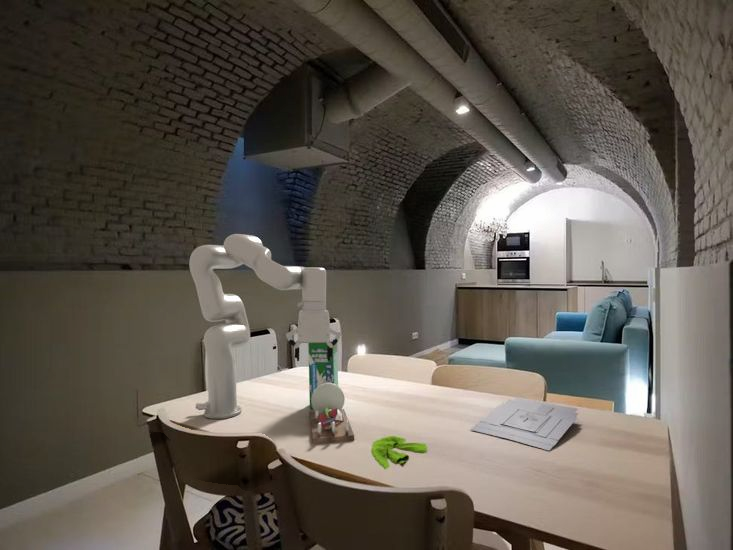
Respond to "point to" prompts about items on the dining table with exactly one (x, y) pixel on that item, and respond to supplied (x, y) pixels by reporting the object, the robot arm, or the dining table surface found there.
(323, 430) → the dish rack
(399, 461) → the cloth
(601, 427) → the dining table surface
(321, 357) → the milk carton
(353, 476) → the dining table surface
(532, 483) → the dining table surface
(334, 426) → the rack tines
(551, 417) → the papers
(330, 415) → the geometric puzzle
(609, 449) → the dining table surface
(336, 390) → the sage plate
